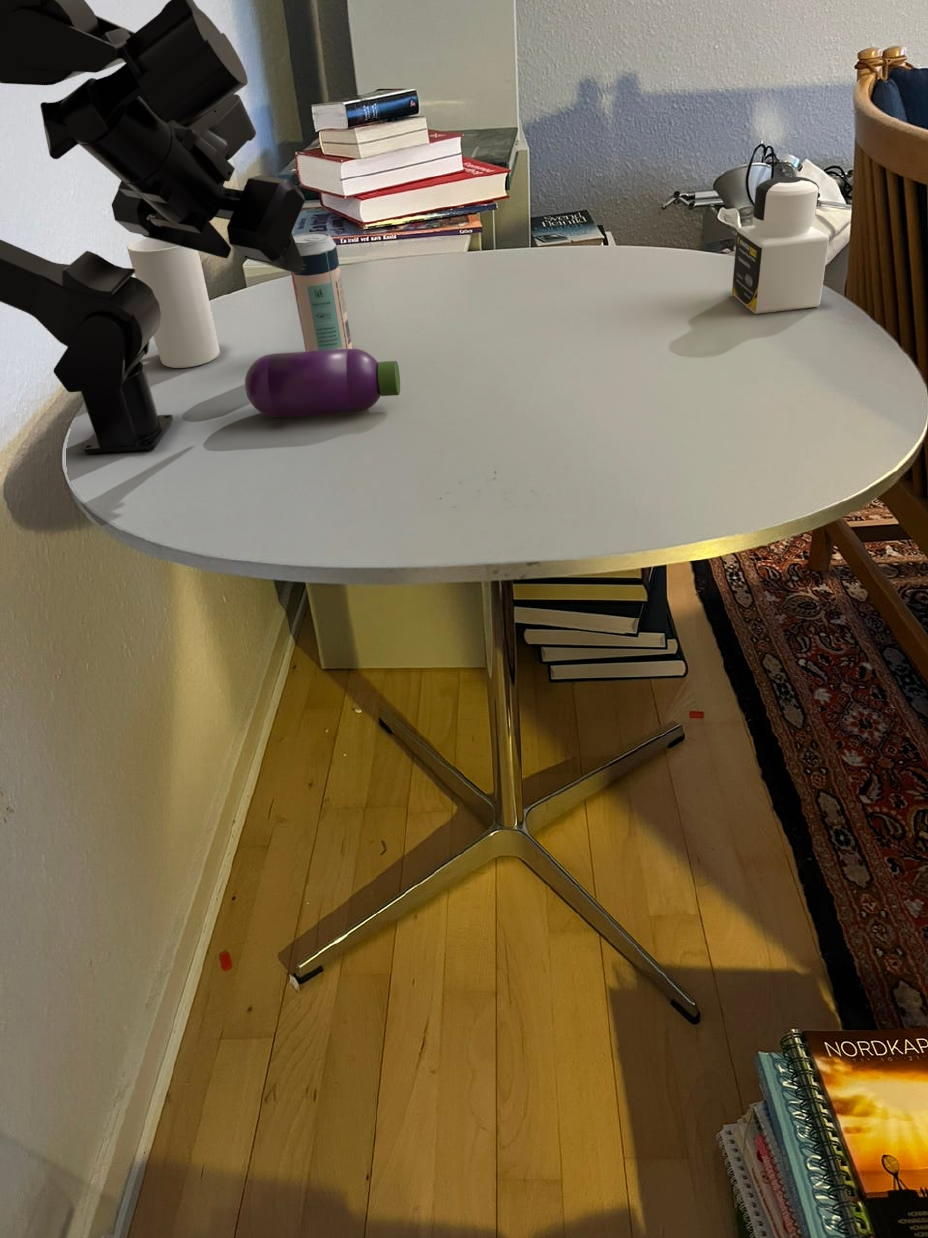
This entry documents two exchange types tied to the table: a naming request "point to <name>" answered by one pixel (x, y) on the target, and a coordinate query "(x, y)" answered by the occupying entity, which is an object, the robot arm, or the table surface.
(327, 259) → the pink upright cylinder
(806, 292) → the medicine bottle
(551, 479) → the table surface
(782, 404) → the table surface
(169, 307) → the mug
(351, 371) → the eggplant
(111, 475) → the table surface
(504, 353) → the table surface
